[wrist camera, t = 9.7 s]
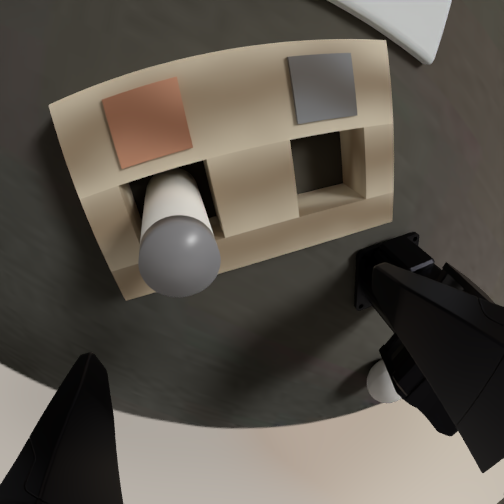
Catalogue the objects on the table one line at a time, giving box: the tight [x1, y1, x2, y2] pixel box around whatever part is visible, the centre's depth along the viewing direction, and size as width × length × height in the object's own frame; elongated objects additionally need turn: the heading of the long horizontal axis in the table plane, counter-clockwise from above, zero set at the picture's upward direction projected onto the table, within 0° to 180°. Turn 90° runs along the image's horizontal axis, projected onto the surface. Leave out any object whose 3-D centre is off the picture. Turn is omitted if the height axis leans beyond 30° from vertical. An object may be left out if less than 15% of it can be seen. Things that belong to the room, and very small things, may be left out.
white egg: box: [367, 360, 401, 403], centre depth 34 cm, size 8×6×6 cm
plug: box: [138, 168, 221, 297], centre depth 15 cm, size 3×3×8 cm
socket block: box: [49, 39, 394, 300], centre depth 17 cm, size 12×18×3 cm, turn 100°
